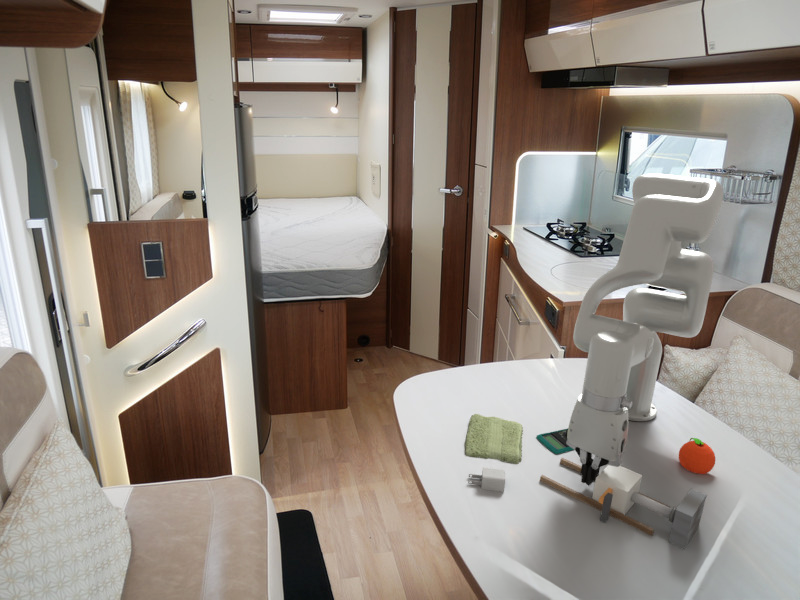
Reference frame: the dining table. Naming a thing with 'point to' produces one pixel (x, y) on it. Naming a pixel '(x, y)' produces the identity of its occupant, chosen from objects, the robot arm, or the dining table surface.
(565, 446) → the digital multimeter
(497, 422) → the washcloth
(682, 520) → the wooden rail slider
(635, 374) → the robot arm
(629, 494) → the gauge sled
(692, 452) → the clementine
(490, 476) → the usb wall charger
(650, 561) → the dining table surface
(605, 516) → the dark grey block
